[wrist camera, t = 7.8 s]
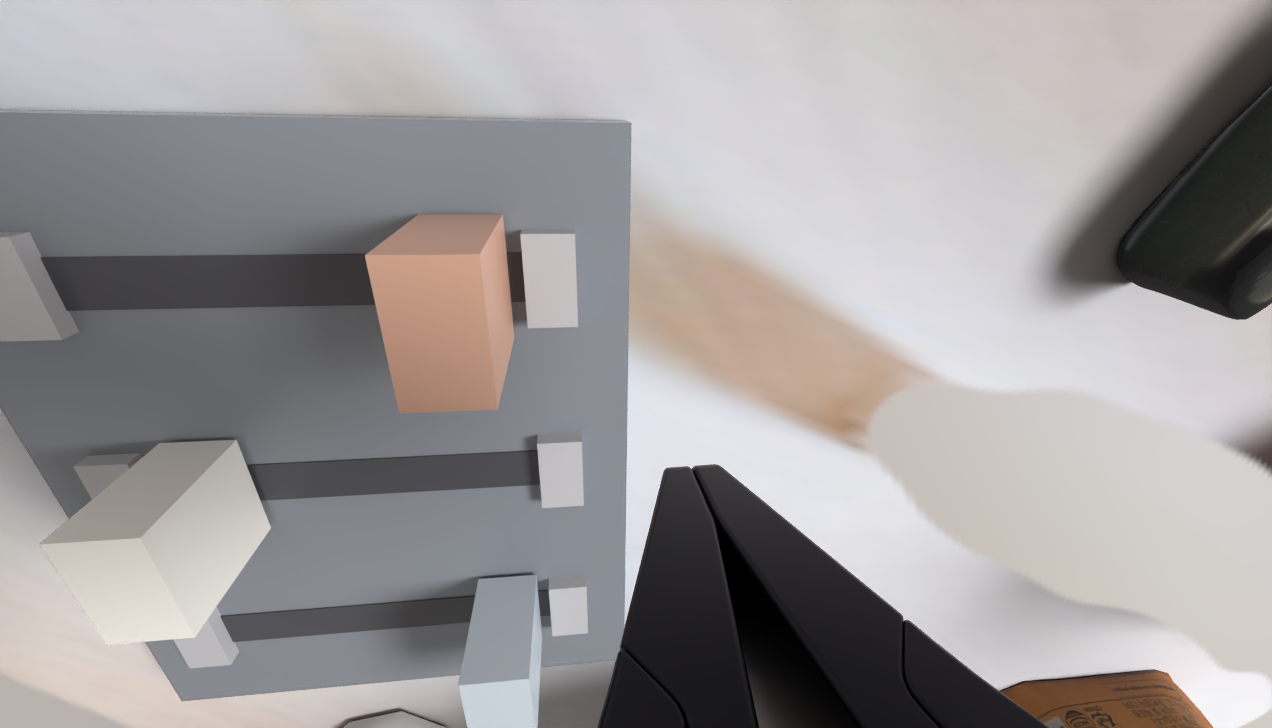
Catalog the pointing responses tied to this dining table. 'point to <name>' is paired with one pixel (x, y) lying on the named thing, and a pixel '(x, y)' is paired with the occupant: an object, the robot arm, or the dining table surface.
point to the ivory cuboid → (161, 542)
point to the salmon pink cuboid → (445, 311)
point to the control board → (328, 370)
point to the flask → (393, 722)
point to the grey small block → (503, 655)
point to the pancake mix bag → (1109, 702)
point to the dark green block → (1213, 224)
